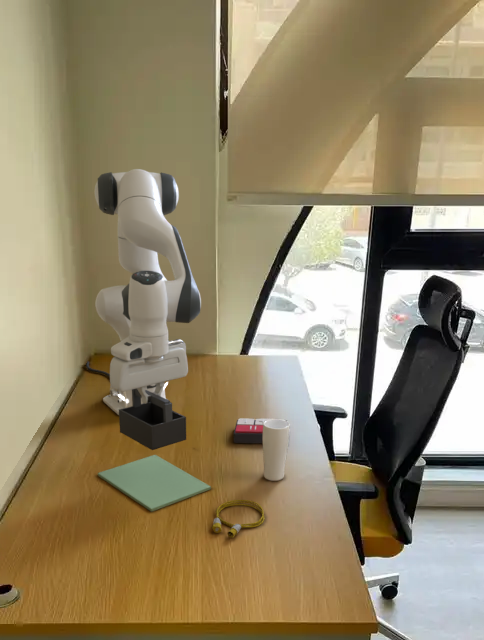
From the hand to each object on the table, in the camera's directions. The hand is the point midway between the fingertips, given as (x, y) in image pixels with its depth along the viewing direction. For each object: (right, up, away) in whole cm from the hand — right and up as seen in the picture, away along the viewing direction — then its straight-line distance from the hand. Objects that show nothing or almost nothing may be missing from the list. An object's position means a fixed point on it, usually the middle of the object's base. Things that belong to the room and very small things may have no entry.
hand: (151, 401), depth 165 cm
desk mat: (-1, -20, +10) cm, 22 cm away
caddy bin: (0, -8, +4) cm, 9 cm away
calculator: (+28, -7, +37) cm, 47 cm away
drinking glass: (+30, -19, +14) cm, 38 cm away
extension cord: (+20, -28, -6) cm, 35 cm away
